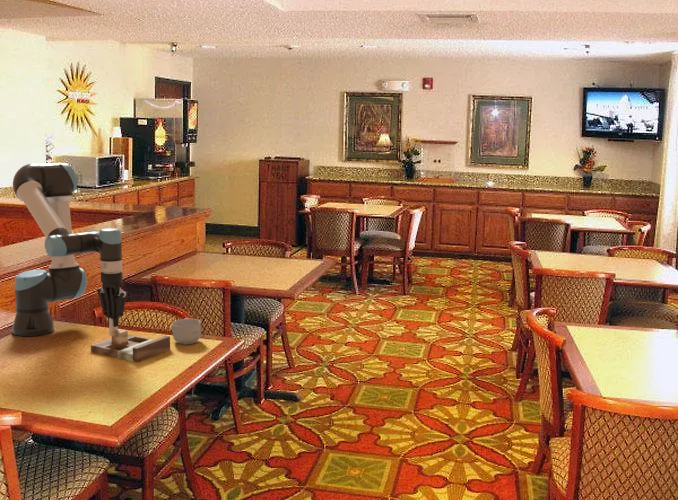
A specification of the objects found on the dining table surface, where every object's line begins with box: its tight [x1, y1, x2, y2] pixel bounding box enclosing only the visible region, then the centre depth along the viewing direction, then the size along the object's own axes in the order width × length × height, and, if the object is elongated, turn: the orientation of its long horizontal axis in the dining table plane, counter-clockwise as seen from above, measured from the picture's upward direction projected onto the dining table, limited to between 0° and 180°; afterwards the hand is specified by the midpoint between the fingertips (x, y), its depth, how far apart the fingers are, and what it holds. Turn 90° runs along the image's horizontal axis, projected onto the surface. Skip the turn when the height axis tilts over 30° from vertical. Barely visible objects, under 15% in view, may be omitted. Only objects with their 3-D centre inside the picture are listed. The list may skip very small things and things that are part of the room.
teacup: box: [171, 317, 202, 346], centre depth 285 cm, size 14×11×8 cm
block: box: [110, 328, 129, 344], centre depth 275 cm, size 4×4×4 cm
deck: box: [90, 333, 171, 363], centre depth 272 cm, size 22×17×5 cm
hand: (113, 334), depth 276 cm, fingers closed
